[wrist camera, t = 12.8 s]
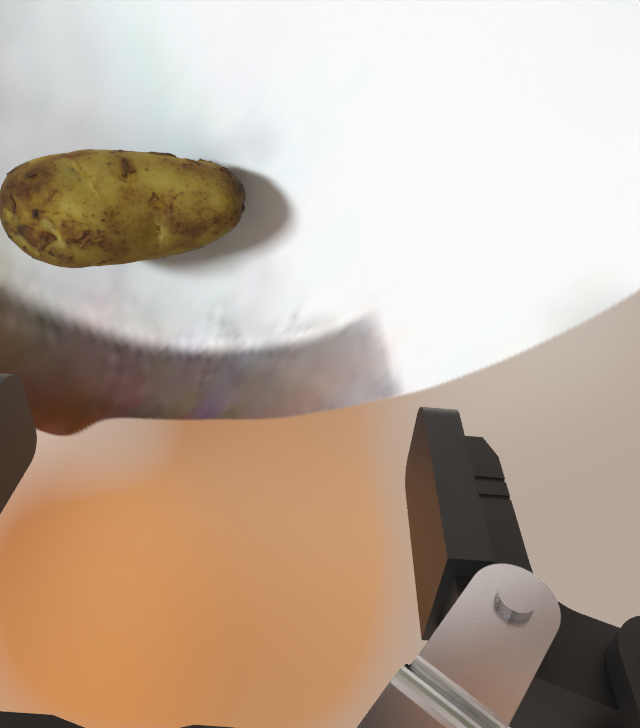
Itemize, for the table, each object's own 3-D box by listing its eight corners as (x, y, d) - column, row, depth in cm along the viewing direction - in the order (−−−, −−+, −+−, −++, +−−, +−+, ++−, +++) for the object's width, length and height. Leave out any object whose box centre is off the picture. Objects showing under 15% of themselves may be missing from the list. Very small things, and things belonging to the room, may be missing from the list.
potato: (224, 275, 42) (202, 338, 35) (37, 212, 39) (-23, 266, 33) (259, 164, 37) (240, 212, 31) (49, 85, 35) (-19, 119, 28)
